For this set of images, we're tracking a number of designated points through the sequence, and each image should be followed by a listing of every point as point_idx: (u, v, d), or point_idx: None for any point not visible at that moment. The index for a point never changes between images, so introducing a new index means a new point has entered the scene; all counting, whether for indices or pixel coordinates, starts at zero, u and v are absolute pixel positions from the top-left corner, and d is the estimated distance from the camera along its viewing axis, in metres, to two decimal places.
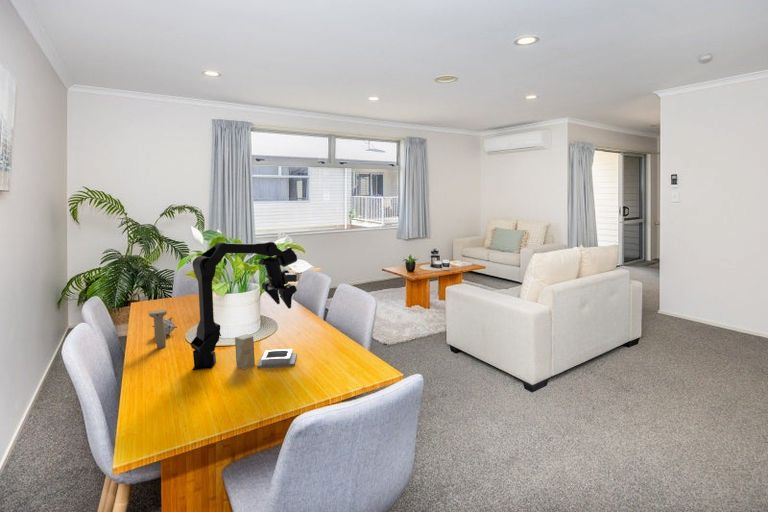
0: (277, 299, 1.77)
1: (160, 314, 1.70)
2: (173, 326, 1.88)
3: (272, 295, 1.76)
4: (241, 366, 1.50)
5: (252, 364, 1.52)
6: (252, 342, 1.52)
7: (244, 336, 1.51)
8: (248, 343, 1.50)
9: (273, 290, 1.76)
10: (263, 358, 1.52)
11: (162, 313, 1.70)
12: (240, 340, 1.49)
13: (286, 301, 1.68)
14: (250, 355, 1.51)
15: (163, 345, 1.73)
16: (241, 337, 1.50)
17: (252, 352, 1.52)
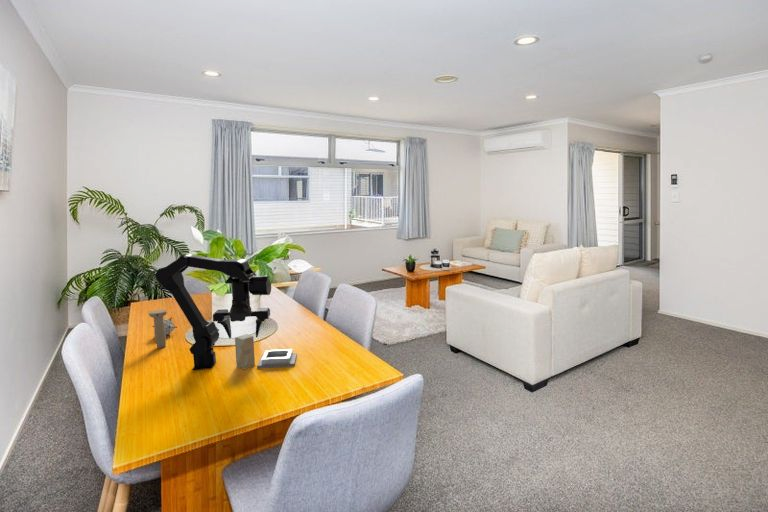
0: (256, 331, 1.51)
1: (160, 314, 1.70)
2: (173, 326, 1.88)
3: None
4: (241, 366, 1.50)
5: (252, 364, 1.52)
6: (252, 342, 1.52)
7: (244, 336, 1.51)
8: (248, 343, 1.50)
9: None
10: (263, 358, 1.52)
11: (162, 313, 1.70)
12: (240, 340, 1.49)
13: None
14: (250, 355, 1.51)
15: (163, 345, 1.73)
16: (241, 337, 1.50)
17: (252, 352, 1.52)
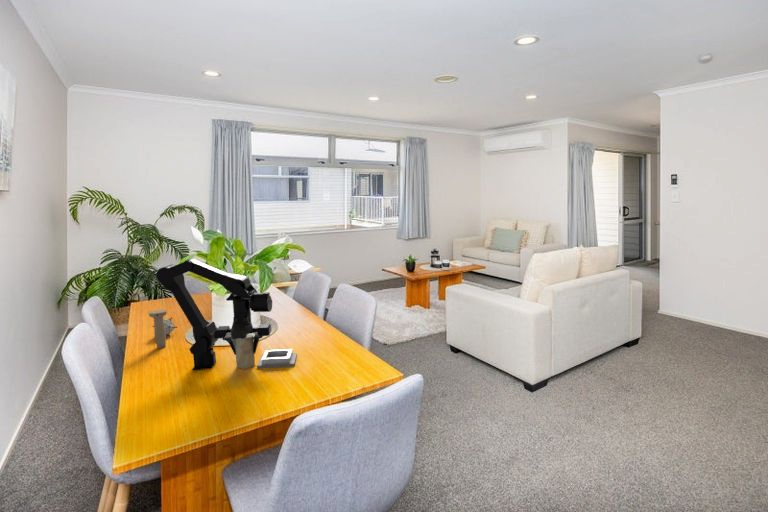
0: None
1: (160, 314, 1.70)
2: (173, 326, 1.88)
3: None
4: (241, 366, 1.50)
5: (252, 364, 1.52)
6: (252, 342, 1.52)
7: None
8: (248, 343, 1.50)
9: None
10: (263, 358, 1.52)
11: (162, 313, 1.70)
12: (240, 340, 1.49)
13: None
14: (250, 355, 1.51)
15: (163, 345, 1.73)
16: None
17: (252, 352, 1.52)
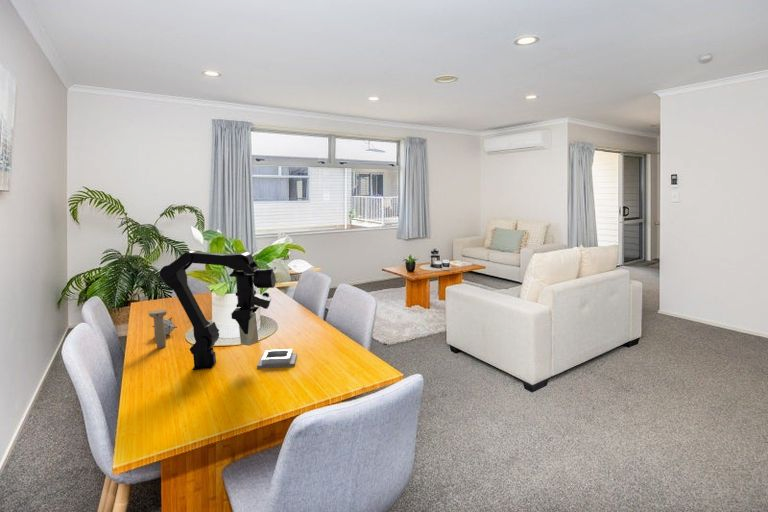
0: None
1: (160, 314, 1.70)
2: (173, 326, 1.88)
3: None
4: (255, 341, 1.51)
5: None
6: None
7: None
8: None
9: None
10: (263, 358, 1.52)
11: (162, 313, 1.70)
12: (254, 314, 1.50)
13: (241, 324, 1.46)
14: None
15: (163, 345, 1.73)
16: None
17: None
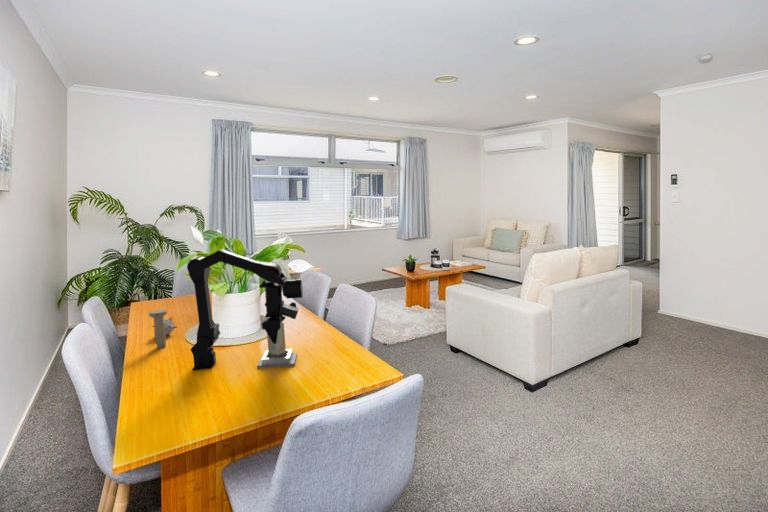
0: None
1: (160, 314, 1.70)
2: (173, 326, 1.88)
3: None
4: (283, 350, 1.54)
5: None
6: None
7: None
8: None
9: None
10: (263, 358, 1.52)
11: (162, 313, 1.70)
12: (282, 324, 1.53)
13: (270, 334, 1.49)
14: None
15: (163, 345, 1.73)
16: None
17: None
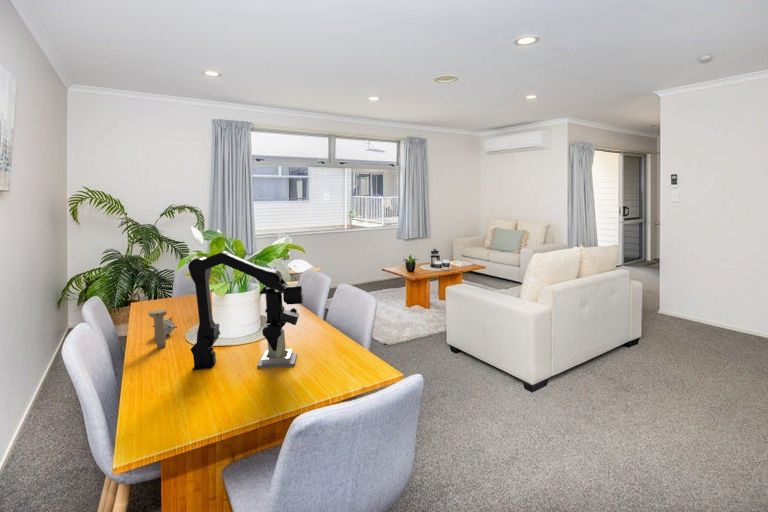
0: None
1: (160, 314, 1.70)
2: (173, 326, 1.88)
3: None
4: None
5: None
6: None
7: None
8: None
9: None
10: (263, 358, 1.52)
11: (162, 313, 1.70)
12: (282, 331, 1.54)
13: (270, 341, 1.48)
14: None
15: (163, 345, 1.73)
16: None
17: None
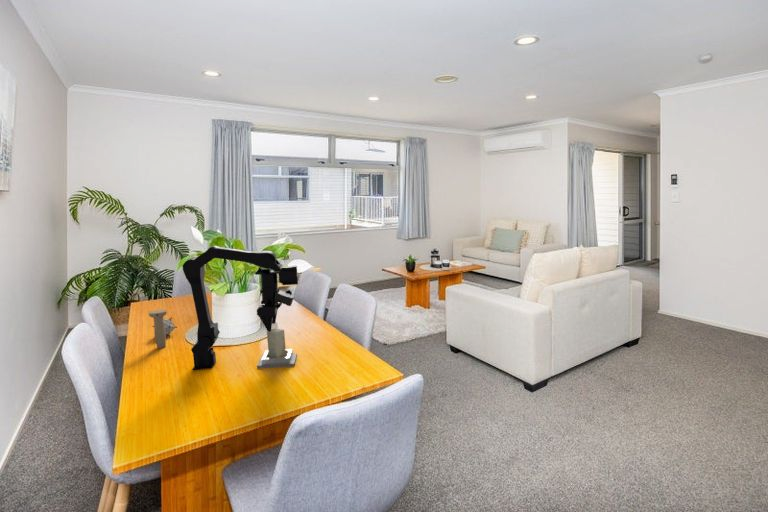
0: (273, 318, 1.60)
1: (160, 314, 1.70)
2: (173, 326, 1.88)
3: None
4: None
5: None
6: None
7: (275, 330, 1.54)
8: None
9: None
10: (263, 358, 1.52)
11: (162, 313, 1.70)
12: (282, 331, 1.54)
13: (264, 322, 1.49)
14: None
15: (163, 345, 1.73)
16: (277, 330, 1.53)
17: None
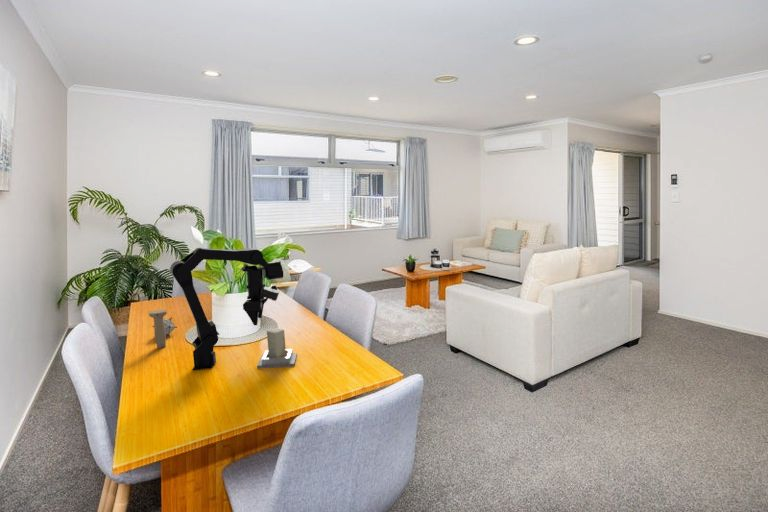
0: (259, 313, 1.66)
1: (160, 314, 1.70)
2: (173, 326, 1.88)
3: None
4: None
5: None
6: None
7: (275, 330, 1.54)
8: None
9: None
10: (263, 358, 1.52)
11: (162, 313, 1.70)
12: (282, 331, 1.54)
13: (250, 316, 1.55)
14: None
15: (163, 345, 1.73)
16: (277, 330, 1.53)
17: None
